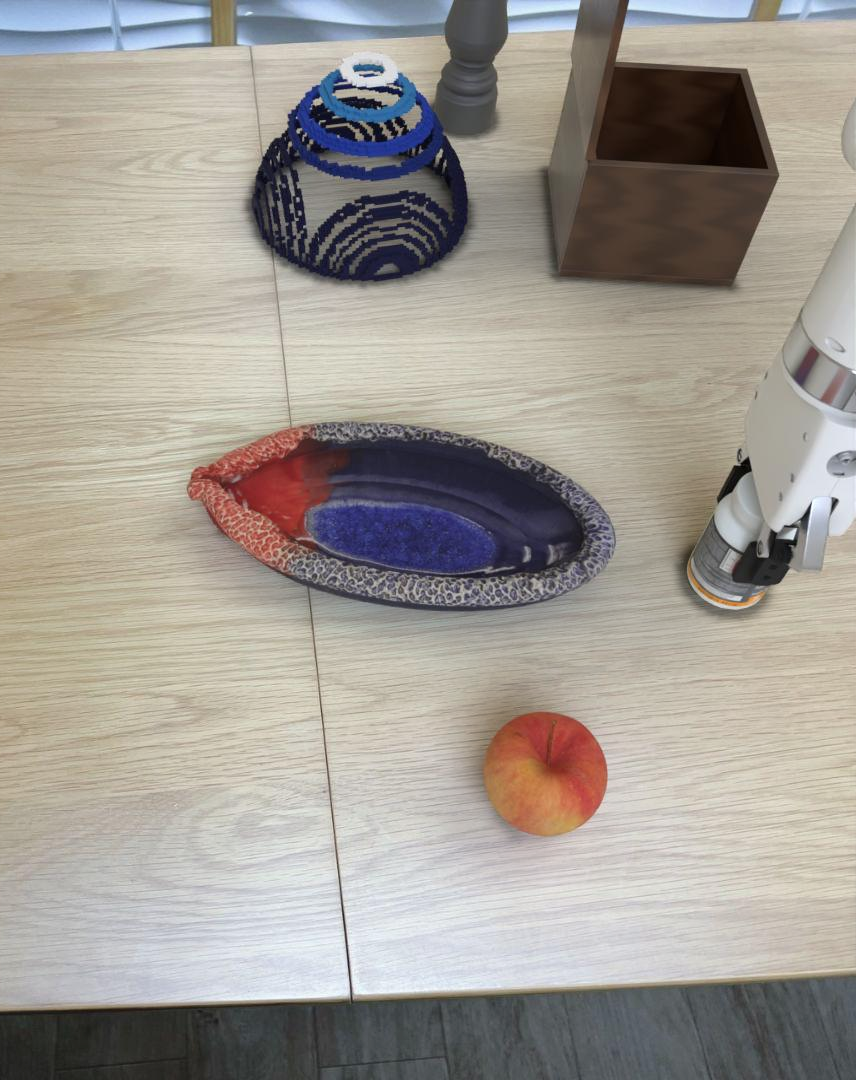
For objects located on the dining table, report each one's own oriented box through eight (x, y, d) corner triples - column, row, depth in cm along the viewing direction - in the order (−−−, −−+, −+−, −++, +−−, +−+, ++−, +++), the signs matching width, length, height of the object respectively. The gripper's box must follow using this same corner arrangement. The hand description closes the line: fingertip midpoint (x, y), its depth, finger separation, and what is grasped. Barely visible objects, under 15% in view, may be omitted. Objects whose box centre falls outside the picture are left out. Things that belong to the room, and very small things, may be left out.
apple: (485, 861, 67) (507, 811, 61) (464, 751, 71) (483, 694, 65) (602, 851, 68) (636, 800, 61) (574, 742, 72) (603, 684, 65)
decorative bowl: (495, 264, 100) (523, 122, 88) (280, 295, 96) (280, 153, 85) (430, 136, 111) (447, -5, 99) (236, 160, 108) (230, 18, 96)
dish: (598, 664, 75) (616, 627, 71) (167, 584, 78) (161, 544, 74) (608, 492, 84) (624, 450, 80) (221, 426, 87) (218, 382, 83)
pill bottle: (759, 622, 78) (815, 542, 70) (679, 599, 79) (724, 517, 71) (767, 560, 81) (821, 476, 73) (689, 538, 82) (734, 453, 74)
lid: (617, -147, 85) (608, -147, 85) (640, -47, 75) (629, -48, 76) (578, 54, 98) (570, 54, 98) (593, 160, 89) (584, 159, 89)
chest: (706, 180, 108) (747, 68, 98) (731, 287, 99) (780, 175, 89) (547, 171, 108) (573, 58, 98) (558, 276, 99) (588, 164, 89)
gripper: (968, 477, 56) (826, 653, 71) (886, 257, 66) (777, 451, 81) (821, 468, 56) (710, 645, 71) (762, 250, 66) (675, 444, 81)
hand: (746, 540), depth 76 cm, fingers closed on pill bottle, 5 cm apart
